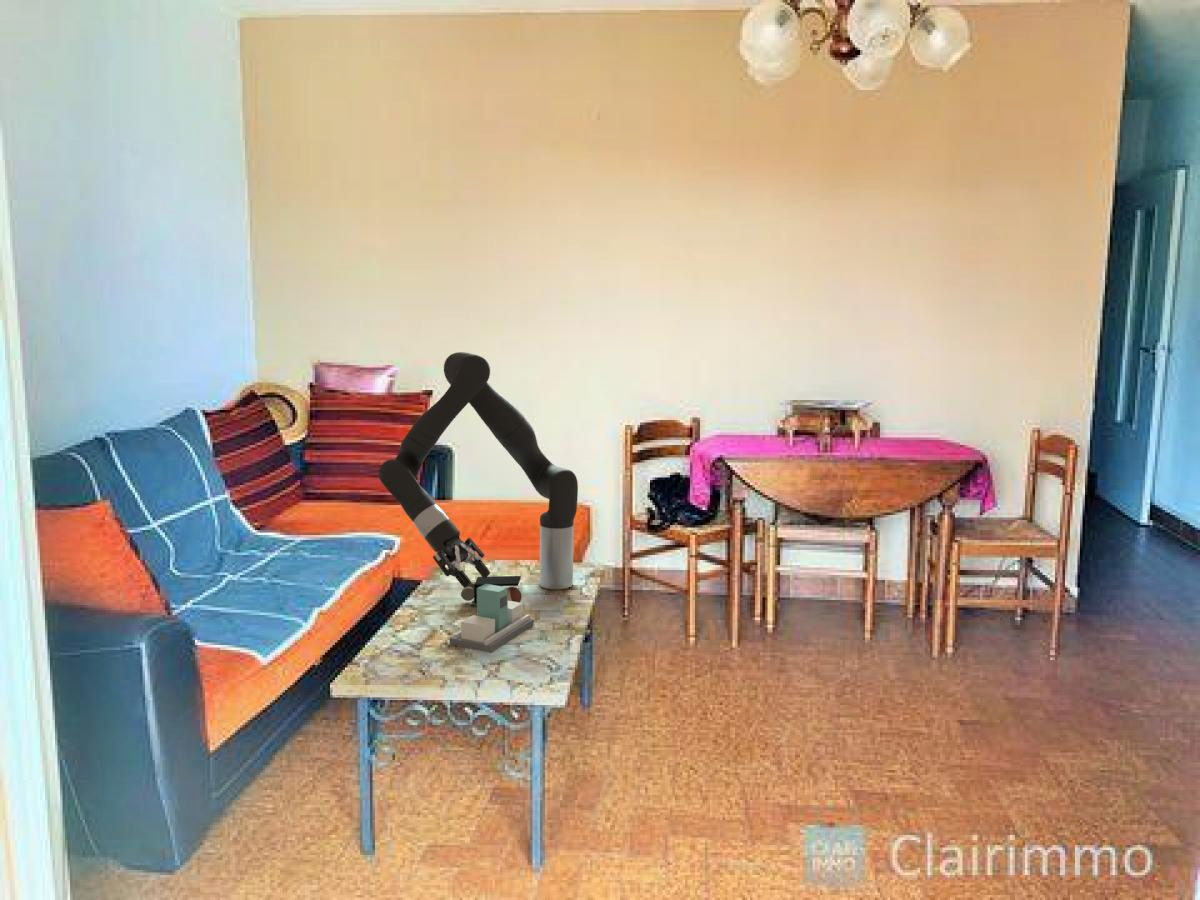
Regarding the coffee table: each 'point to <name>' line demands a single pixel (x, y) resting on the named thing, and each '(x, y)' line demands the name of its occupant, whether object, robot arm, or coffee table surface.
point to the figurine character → (513, 592)
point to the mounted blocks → (488, 623)
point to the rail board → (494, 636)
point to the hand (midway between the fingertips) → (478, 580)
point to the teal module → (493, 604)
